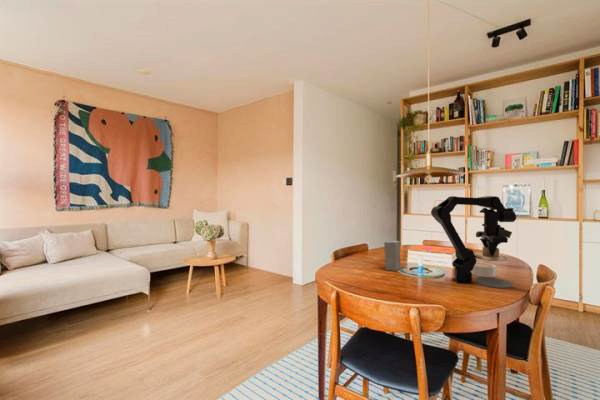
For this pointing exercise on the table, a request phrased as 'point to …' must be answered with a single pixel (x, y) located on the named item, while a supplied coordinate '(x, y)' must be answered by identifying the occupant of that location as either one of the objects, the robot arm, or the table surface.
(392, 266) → the skincare box
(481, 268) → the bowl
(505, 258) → the lid
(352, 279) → the table surface
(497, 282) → the mat
